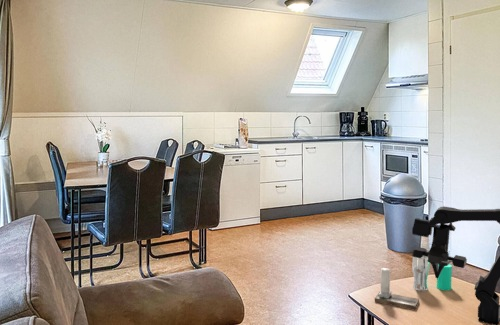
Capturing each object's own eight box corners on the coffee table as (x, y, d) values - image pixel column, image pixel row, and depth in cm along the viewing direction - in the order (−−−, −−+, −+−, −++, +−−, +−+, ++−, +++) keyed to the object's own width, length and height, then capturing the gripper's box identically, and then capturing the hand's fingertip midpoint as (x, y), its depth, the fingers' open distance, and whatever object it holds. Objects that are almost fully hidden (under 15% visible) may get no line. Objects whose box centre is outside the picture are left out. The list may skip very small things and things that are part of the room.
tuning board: (419, 302, 175) (419, 298, 175) (415, 310, 168) (415, 305, 168) (379, 294, 183) (379, 291, 183) (374, 301, 177) (374, 297, 177)
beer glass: (408, 286, 191) (409, 254, 190) (421, 284, 193) (422, 252, 192) (419, 292, 185) (419, 259, 183) (432, 290, 187) (432, 257, 185)
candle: (452, 290, 186) (453, 264, 184) (438, 290, 187) (438, 263, 186) (449, 285, 191) (450, 259, 190) (435, 284, 193) (435, 259, 191)
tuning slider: (391, 294, 179) (391, 268, 178) (387, 299, 174) (387, 273, 173) (381, 292, 181) (382, 266, 180) (377, 297, 176) (377, 271, 175)
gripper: (409, 239, 164) (406, 277, 166) (462, 250, 153) (458, 291, 155) (418, 232, 172) (414, 269, 175) (468, 242, 161) (464, 281, 164)
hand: (437, 277), depth 167 cm, fingers closed
